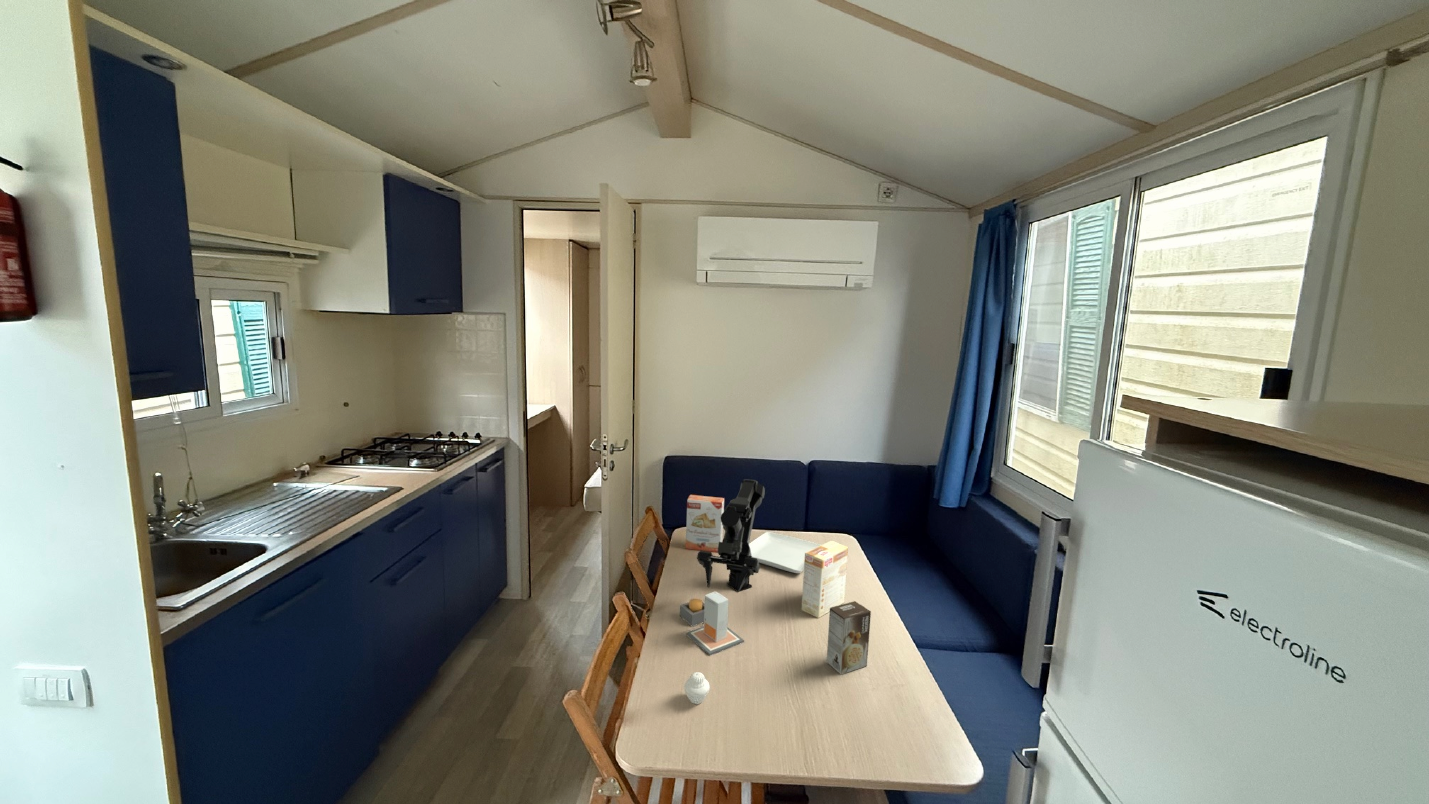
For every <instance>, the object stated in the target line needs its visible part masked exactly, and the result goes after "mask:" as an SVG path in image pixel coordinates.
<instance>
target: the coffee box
mask: <svg viewBox="0 0 1429 804" xmlns="http://www.w3.org/2000/svg"><path fill="white" fill-rule="evenodd" d="M871 616H872V611H871V610H869V609H868V608H866V607H865V606H863V604H860V603H859V602H857V601H855V600H853V601H851V602H847V603H843V604H841V605H839V606H835V607H831V608H830V611H829V617H828V619H829V620H828V631H827V632H828V635H827V652H826V663H827V665H829V666H830V667H832V668H833V669H834V670H835V671H836V672H838V673H839V675H844V674H847V673H850V672H853V671H857V670H858V669H861V668H864V667H865V668H866V667H867V665H868V656H869V642H870V628H871V618H872V617H871Z"/></svg>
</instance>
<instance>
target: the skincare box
mask: <svg viewBox="0 0 1429 804" xmlns="http://www.w3.org/2000/svg"><path fill="white" fill-rule="evenodd" d="M704 603H705V605H704V622H703V626H704V630H703V633H704V634H706V635H707V636H709V637H710V638H711V639H713V640H714V641H715V642H718V641H720V640H723V639H725V638H727V627H728V619H729V616H728V615H729V598H727V597H725V596H724V595H723V594H721V593H719V592H717V591H713V592H710V593H708V594H705V595H704Z"/></svg>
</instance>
